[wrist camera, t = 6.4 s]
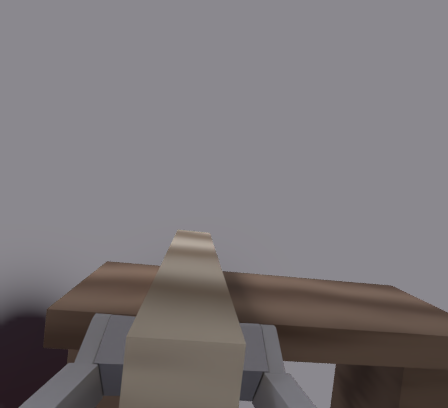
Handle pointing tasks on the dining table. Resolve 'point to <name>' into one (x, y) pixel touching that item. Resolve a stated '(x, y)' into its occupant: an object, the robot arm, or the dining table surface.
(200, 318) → the birch bar
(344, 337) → the walnut shelf
